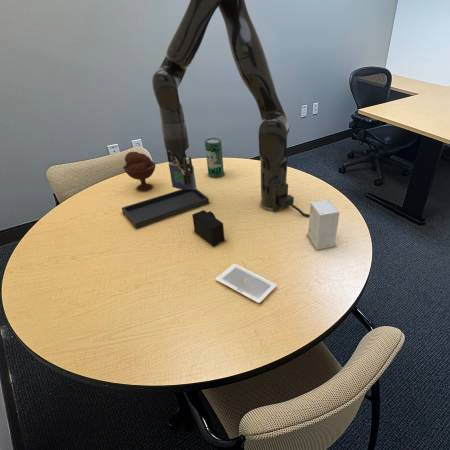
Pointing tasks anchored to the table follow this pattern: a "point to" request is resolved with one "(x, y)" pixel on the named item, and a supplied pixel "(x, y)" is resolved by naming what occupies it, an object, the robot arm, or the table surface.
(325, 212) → the small box
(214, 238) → the digital camera
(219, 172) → the can
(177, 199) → the tray
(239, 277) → the touchpad
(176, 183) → the flask
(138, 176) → the ice cream bowl
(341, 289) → the table surface
